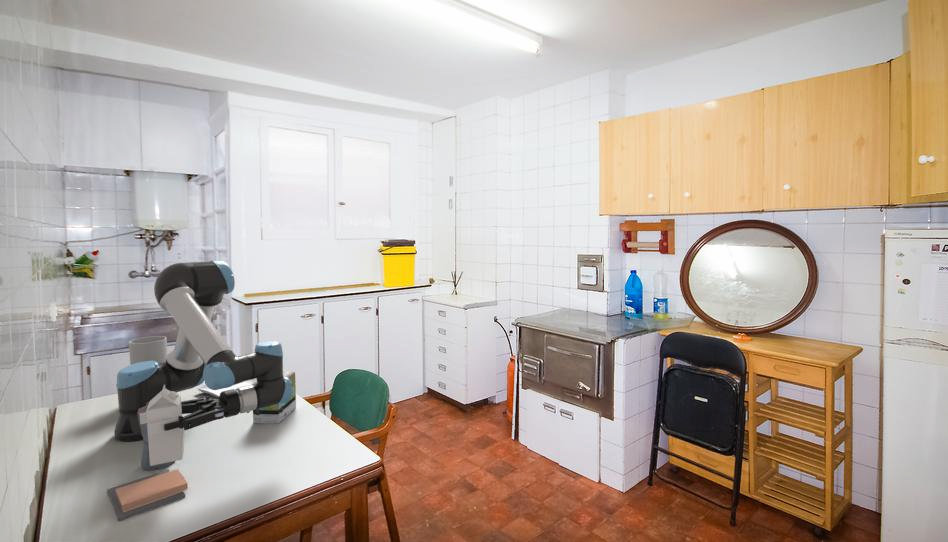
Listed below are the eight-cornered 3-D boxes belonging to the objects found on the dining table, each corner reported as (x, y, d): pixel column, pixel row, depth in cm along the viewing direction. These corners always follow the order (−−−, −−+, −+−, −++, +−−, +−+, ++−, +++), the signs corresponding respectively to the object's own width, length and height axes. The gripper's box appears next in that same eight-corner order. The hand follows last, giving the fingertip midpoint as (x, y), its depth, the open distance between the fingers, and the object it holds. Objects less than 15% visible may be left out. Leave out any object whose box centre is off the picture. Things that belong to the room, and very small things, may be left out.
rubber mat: (107, 491, 124) (107, 489, 124) (168, 471, 134) (168, 469, 134) (118, 521, 112) (118, 518, 111) (185, 496, 121) (185, 494, 121)
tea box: (280, 424, 166) (278, 383, 164) (252, 424, 166) (250, 383, 165) (297, 407, 181) (295, 370, 179) (271, 407, 181) (269, 370, 180)
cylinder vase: (128, 401, 188) (123, 340, 186) (162, 392, 198) (158, 334, 196) (141, 408, 181) (136, 345, 178) (176, 398, 191) (172, 338, 189)
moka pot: (152, 477, 131) (147, 409, 129) (128, 463, 139) (122, 398, 137) (188, 462, 139) (184, 398, 137) (162, 449, 147) (158, 388, 145)
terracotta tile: (178, 475, 131) (116, 496, 121) (177, 469, 130) (115, 489, 120) (187, 490, 123) (122, 513, 114) (187, 482, 123) (122, 505, 113)
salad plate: (223, 404, 185) (222, 396, 185) (195, 394, 196) (195, 386, 196) (271, 389, 203) (271, 381, 202) (243, 380, 214) (243, 373, 214)
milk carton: (149, 466, 119) (144, 395, 117) (153, 454, 126) (148, 386, 123) (182, 460, 123) (178, 390, 121) (184, 448, 129) (180, 382, 127)
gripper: (251, 425, 128) (154, 453, 113) (225, 403, 144) (136, 425, 128) (250, 398, 128) (152, 423, 112) (224, 379, 143) (134, 399, 127)
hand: (143, 424), depth 120 cm, fingers closed on milk carton, 9 cm apart
